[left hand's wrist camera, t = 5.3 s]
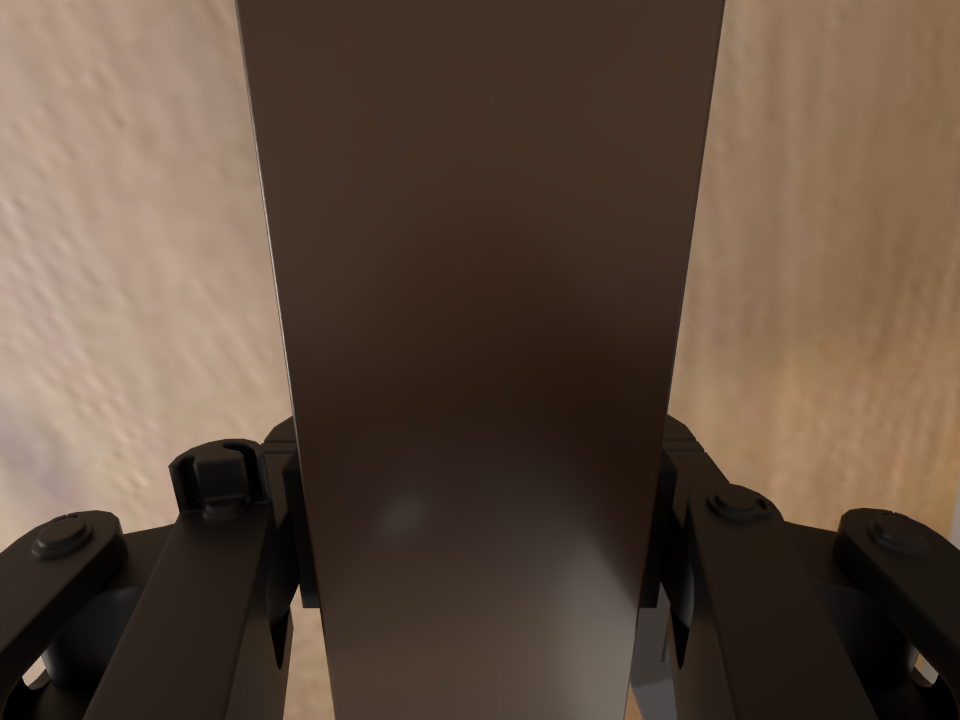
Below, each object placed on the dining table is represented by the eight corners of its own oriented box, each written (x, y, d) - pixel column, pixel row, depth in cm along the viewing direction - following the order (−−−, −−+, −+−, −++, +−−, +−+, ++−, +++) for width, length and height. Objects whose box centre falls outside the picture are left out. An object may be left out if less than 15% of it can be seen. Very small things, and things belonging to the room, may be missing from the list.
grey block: (739, 631, 24) (801, 748, 19) (630, 657, 24) (663, 777, 20) (719, 547, 22) (781, 653, 17) (602, 577, 23) (631, 688, 18)
